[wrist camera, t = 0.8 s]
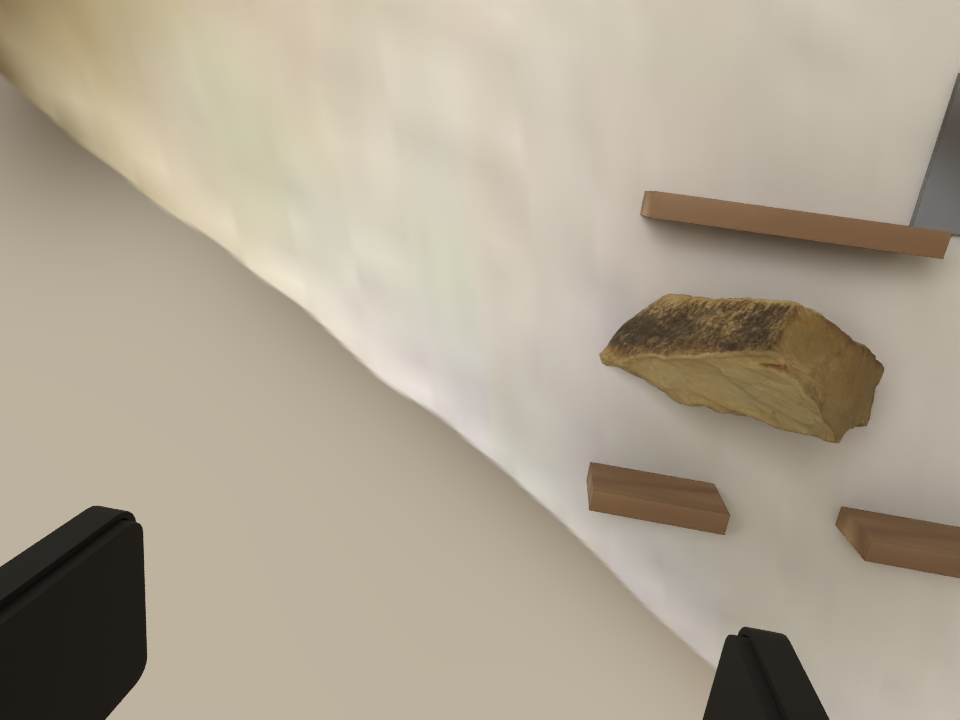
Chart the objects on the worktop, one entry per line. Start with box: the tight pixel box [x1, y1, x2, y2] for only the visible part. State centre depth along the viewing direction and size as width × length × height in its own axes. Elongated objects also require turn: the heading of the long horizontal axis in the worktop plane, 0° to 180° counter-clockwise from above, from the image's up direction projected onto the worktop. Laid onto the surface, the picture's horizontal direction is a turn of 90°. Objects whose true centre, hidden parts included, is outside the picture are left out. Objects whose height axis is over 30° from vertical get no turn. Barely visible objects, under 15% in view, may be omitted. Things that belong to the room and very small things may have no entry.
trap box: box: [587, 73, 960, 578], centre depth 25 cm, size 20×21×4 cm
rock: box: [600, 294, 884, 443], centre depth 25 cm, size 11×9×10 cm
